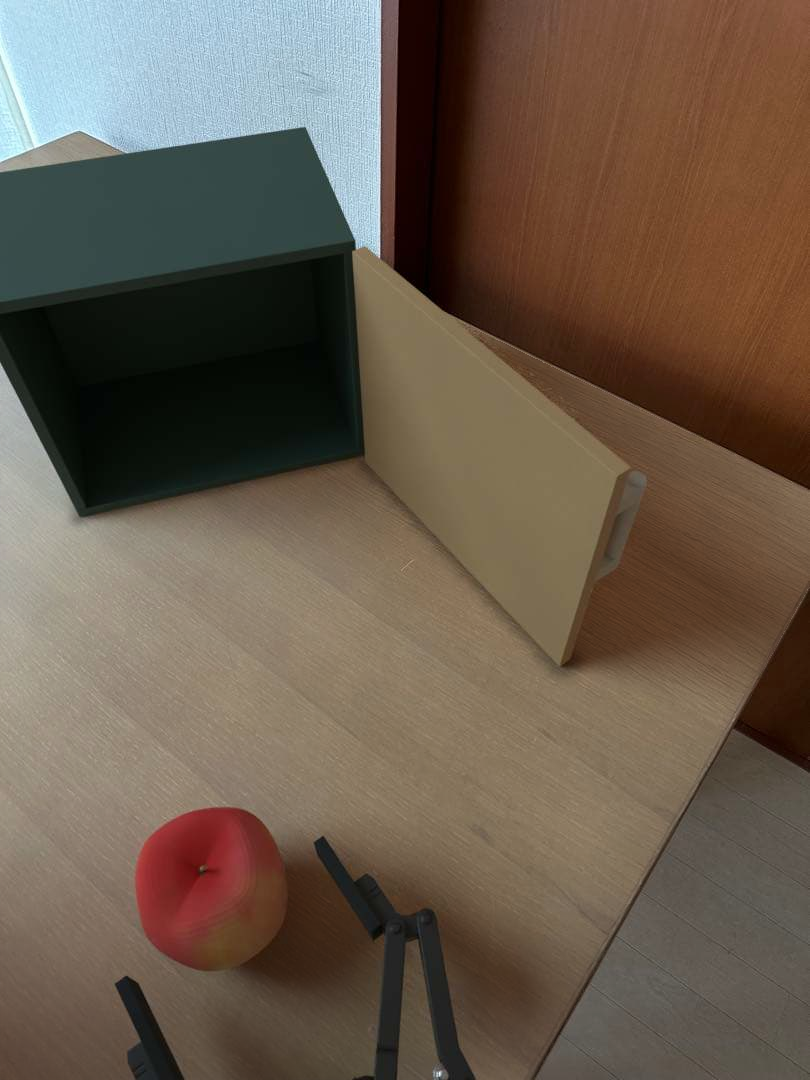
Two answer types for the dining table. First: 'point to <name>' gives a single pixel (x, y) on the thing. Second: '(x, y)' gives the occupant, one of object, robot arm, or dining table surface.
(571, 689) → the dining table surface
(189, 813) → the apple
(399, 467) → the cupboard door
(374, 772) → the dining table surface
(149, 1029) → the robot arm
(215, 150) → the cupboard
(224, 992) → the dining table surface
